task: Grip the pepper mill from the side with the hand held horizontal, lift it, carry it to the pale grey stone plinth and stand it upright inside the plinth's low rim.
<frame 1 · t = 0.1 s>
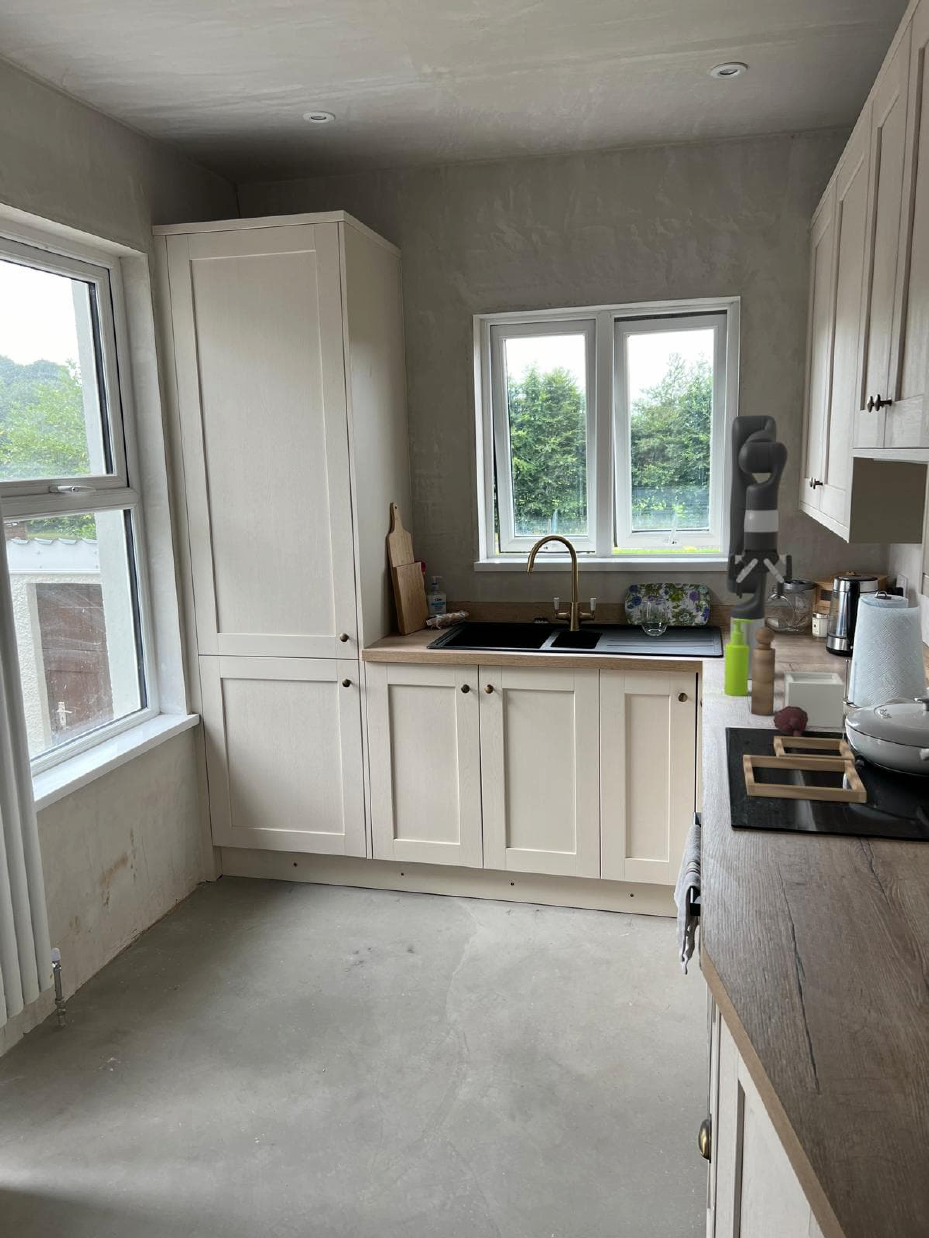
hand: (759, 598, 215), 29 cm above the worktop, fingers open, 8 cm apart
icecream: (790, 736, 206), on the worktop
soap dispenser: (737, 694, 244), on the worktop
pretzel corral: (800, 782, 175), on the worktop
plinth: (811, 719, 218), on the worktop
pepper mill: (762, 712, 224), on the worktop
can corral: (812, 756, 191), on the worktop
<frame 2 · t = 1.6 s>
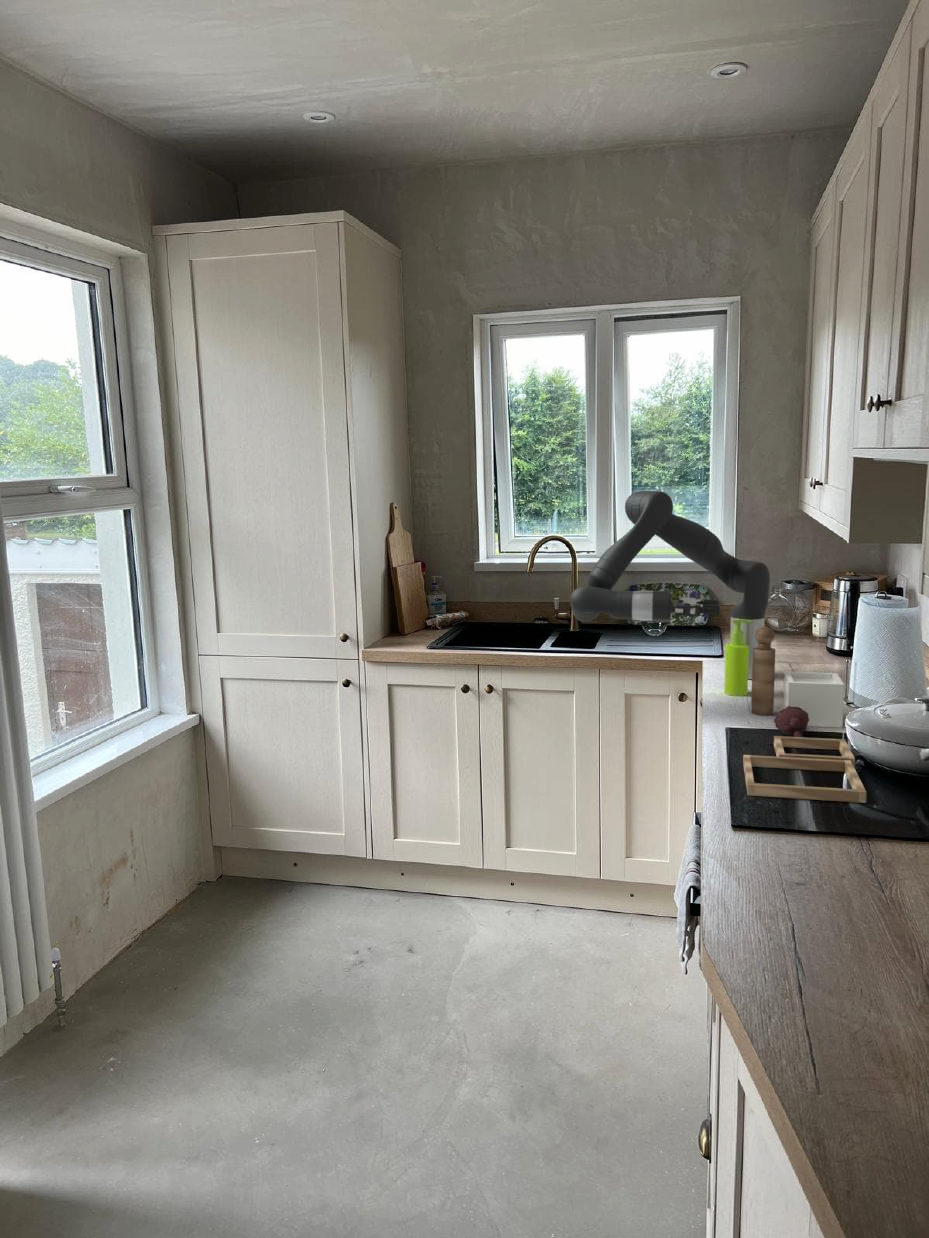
hand: (719, 607, 223), 26 cm above the worktop, fingers open, 8 cm apart
nothing on the worktop moved.
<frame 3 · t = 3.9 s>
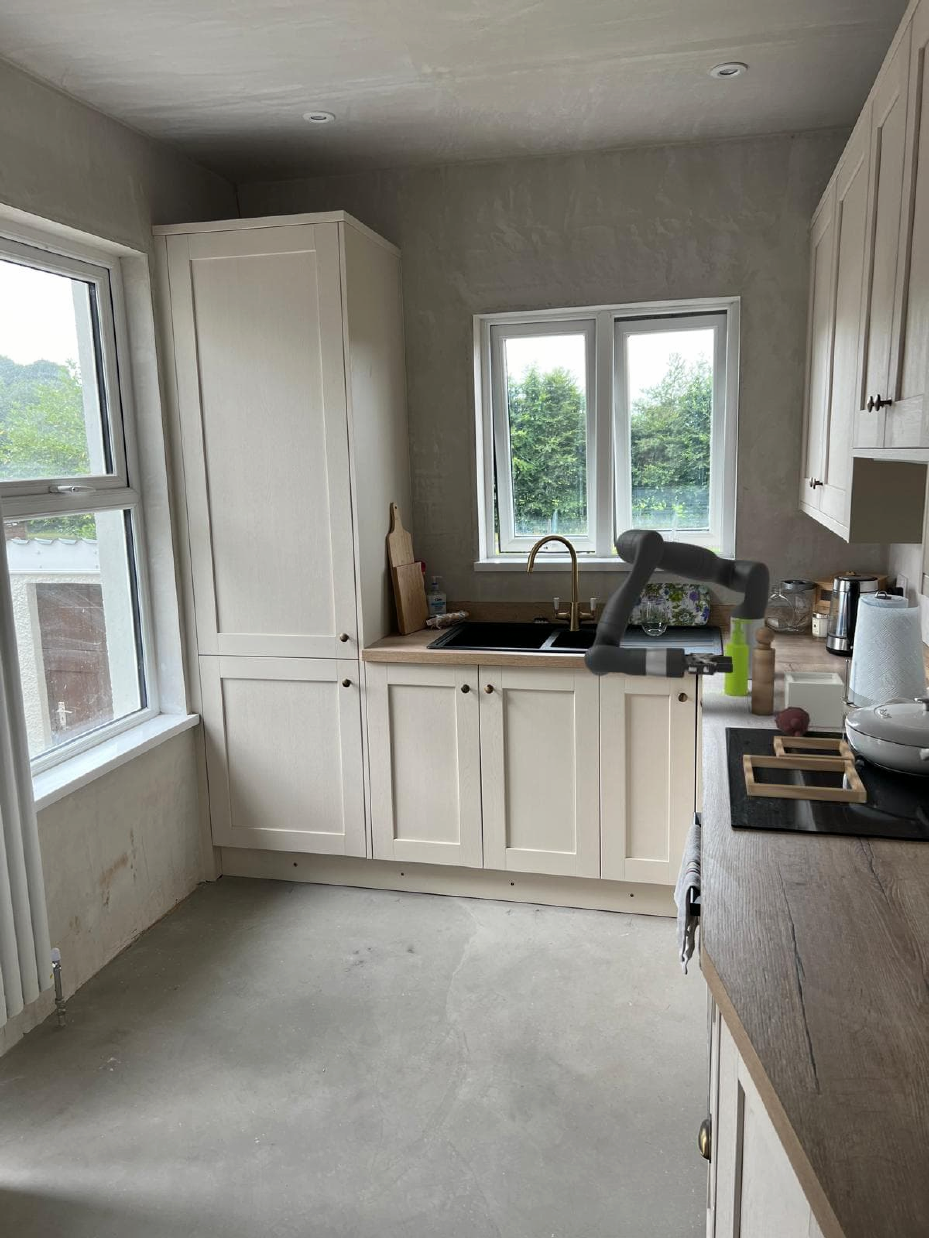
hand: (732, 664, 224), 12 cm above the worktop, fingers open, 8 cm apart
nothing on the worktop moved.
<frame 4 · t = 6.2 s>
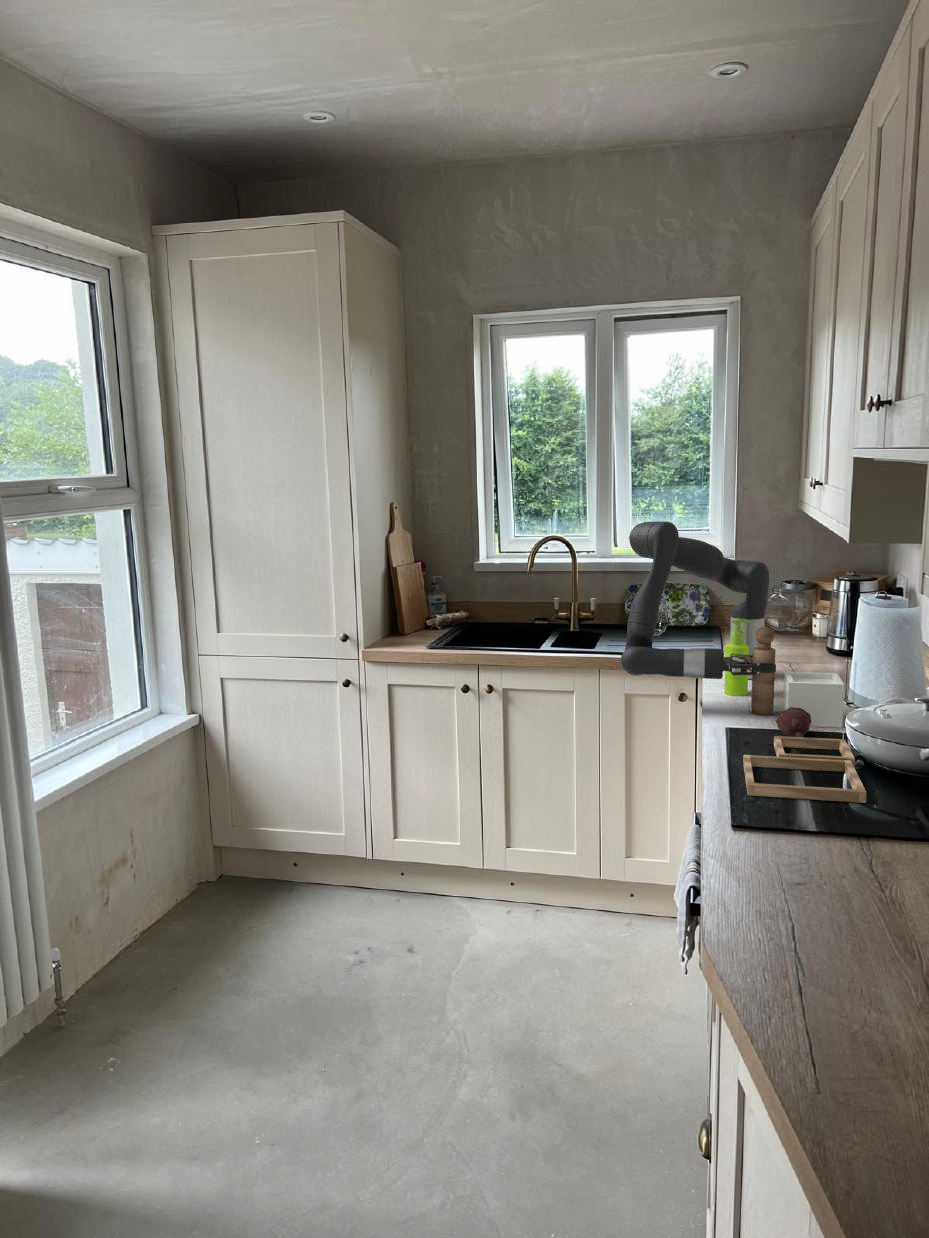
hand: (774, 665, 222), 12 cm above the worktop, fingers closed on pepper mill, 5 cm apart
pepper mill: (762, 712, 224), on the worktop, touching gripper
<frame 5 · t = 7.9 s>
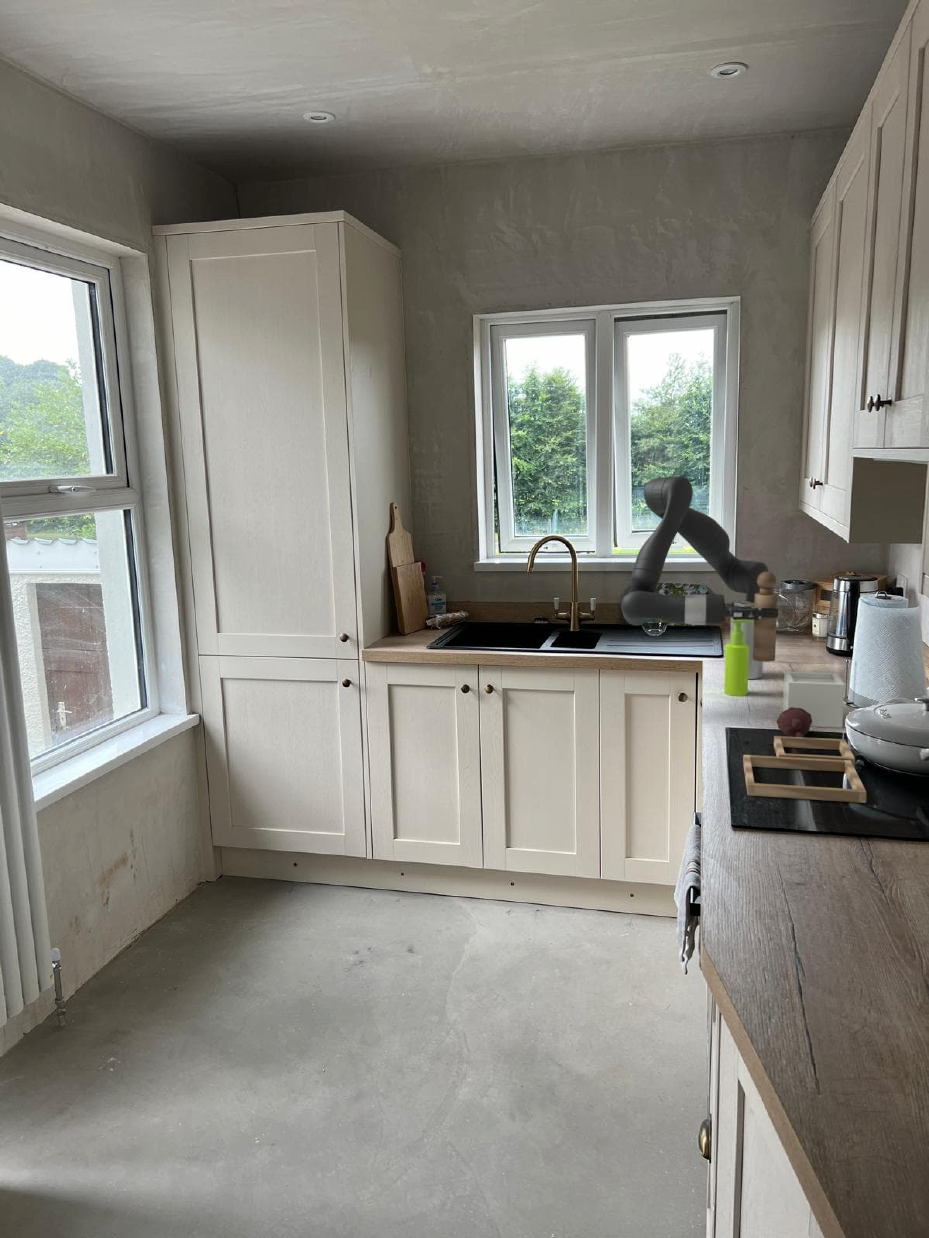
hand: (776, 610, 219), 25 cm above the worktop, fingers closed on pepper mill, 5 cm apart
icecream: (794, 737, 205), on the worktop, touching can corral
pepper mill: (763, 659, 222), point 13 cm above the worktop, touching gripper
everything else where it was.
when the fingers open (22 cm above the worktop, at t = 9.8 s): pepper mill drops 1 cm, resting on plinth.
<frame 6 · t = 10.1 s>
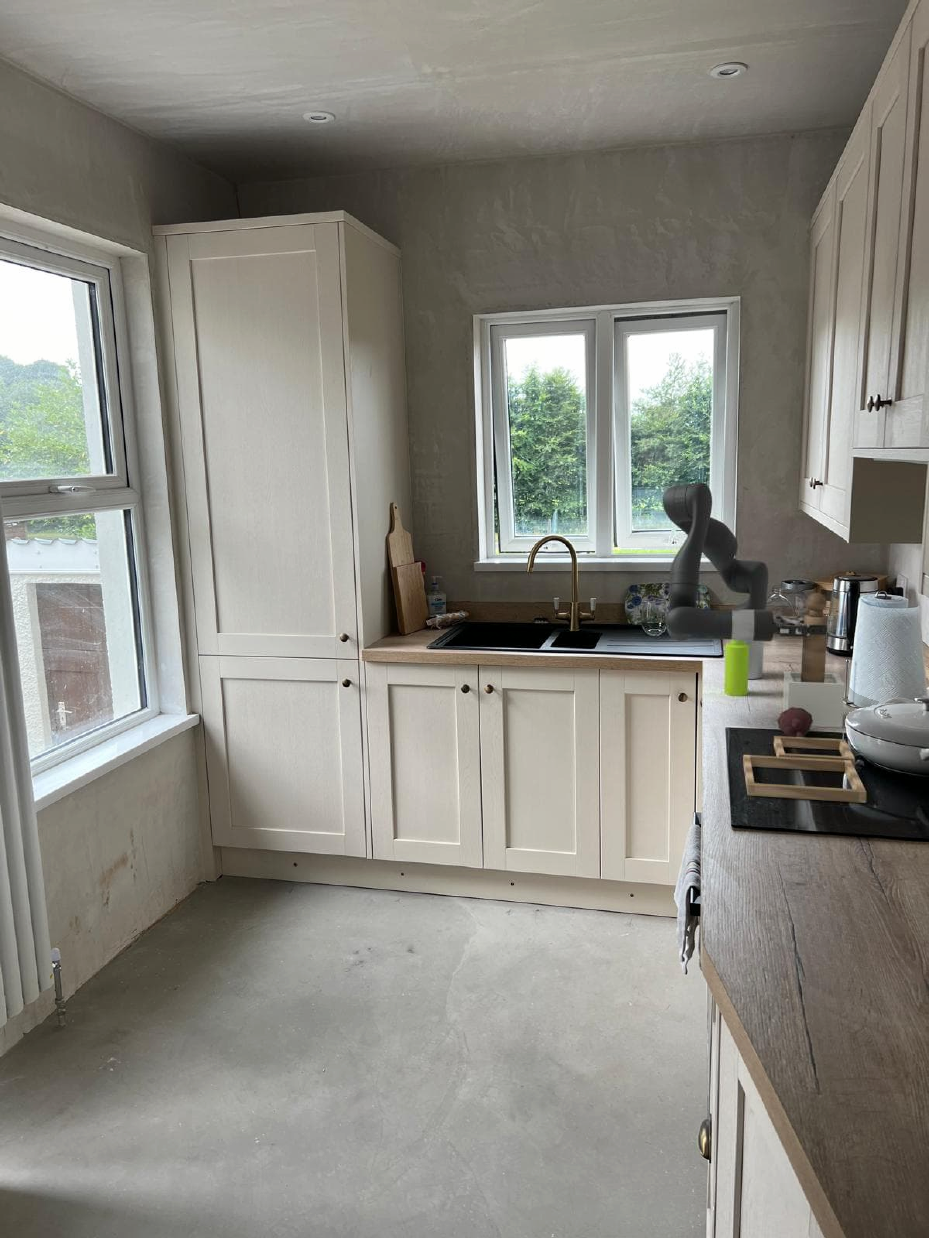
hand: (824, 626, 213), 23 cm above the worktop, fingers open, 8 cm apart
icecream: (794, 737, 205), on the worktop
pepper mill: (812, 682, 216), point 9 cm above the worktop, touching plinth
everything else where it was.
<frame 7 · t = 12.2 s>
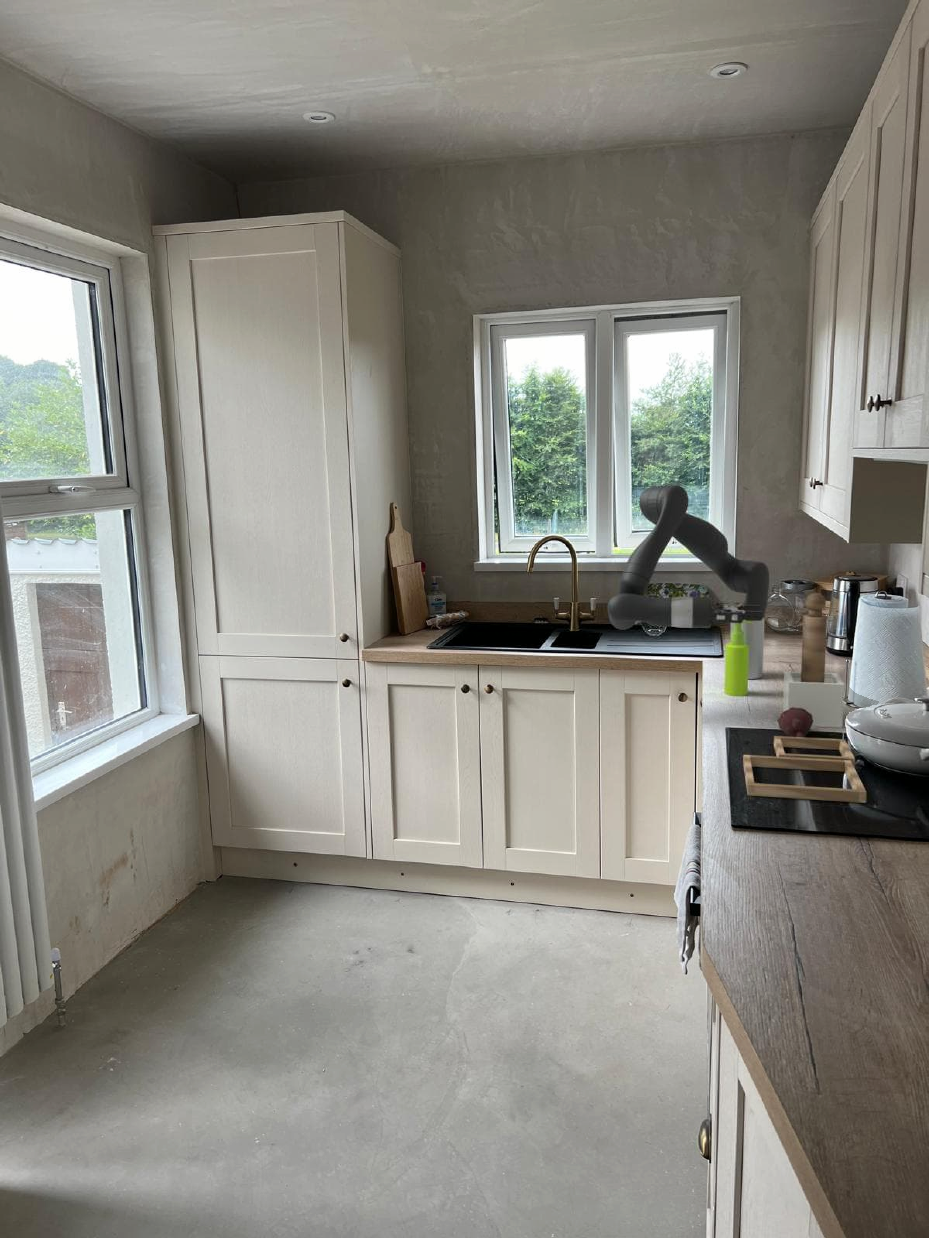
hand: (760, 612, 218), 25 cm above the worktop, fingers open, 8 cm apart
nothing on the worktop moved.
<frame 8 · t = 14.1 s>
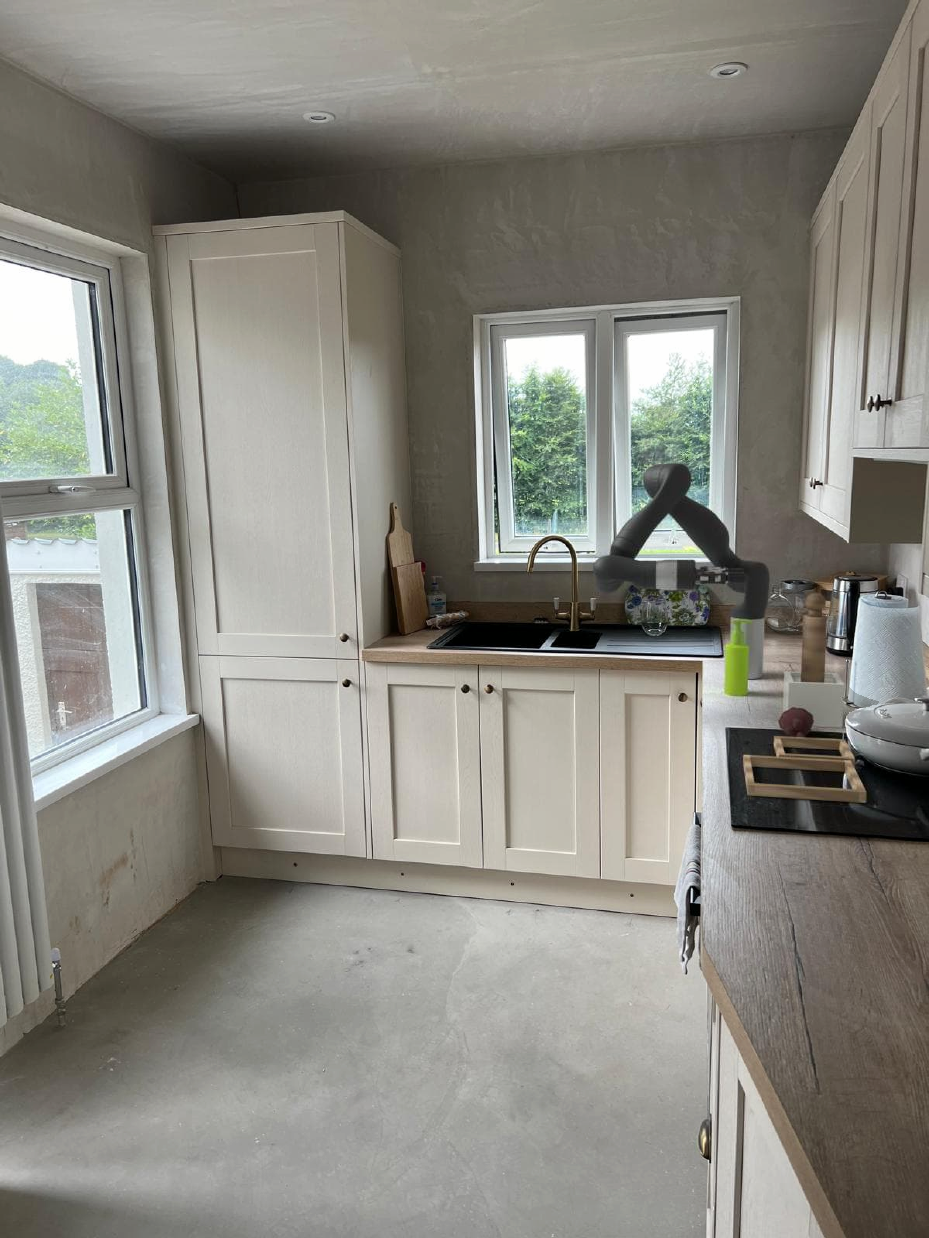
hand: (744, 575, 220), 34 cm above the worktop, fingers open, 8 cm apart
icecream: (795, 737, 205), on the worktop, touching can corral
everything else where it was.
at the end: pepper mill inside the target area on the plinth (0.1 cm from its centre), point 9.0 cm above the plinth's base; pepper mill tilted 0°; the gripper is holding nothing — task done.
